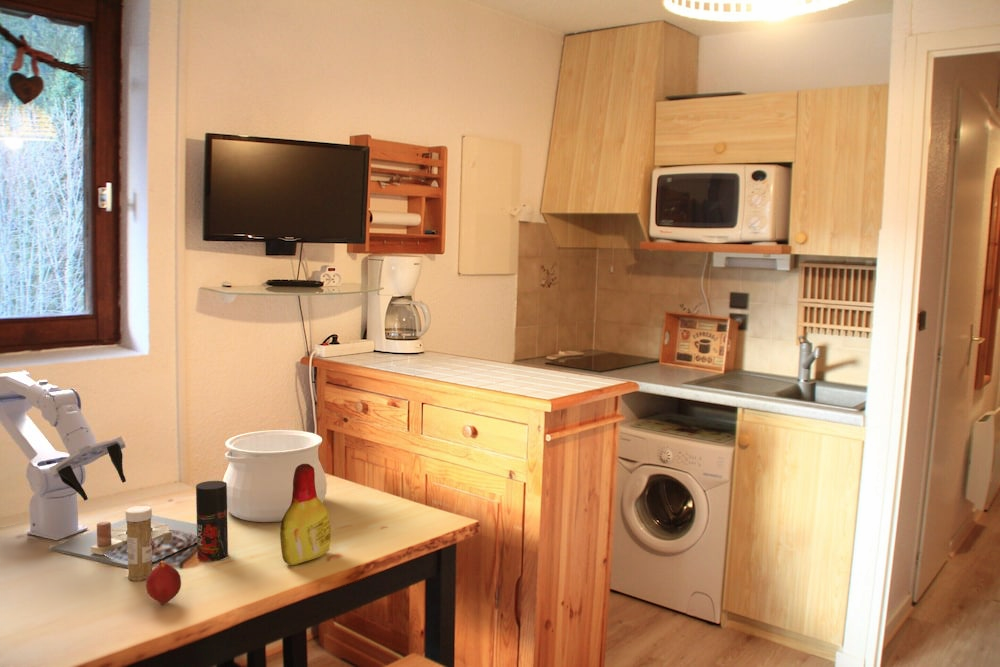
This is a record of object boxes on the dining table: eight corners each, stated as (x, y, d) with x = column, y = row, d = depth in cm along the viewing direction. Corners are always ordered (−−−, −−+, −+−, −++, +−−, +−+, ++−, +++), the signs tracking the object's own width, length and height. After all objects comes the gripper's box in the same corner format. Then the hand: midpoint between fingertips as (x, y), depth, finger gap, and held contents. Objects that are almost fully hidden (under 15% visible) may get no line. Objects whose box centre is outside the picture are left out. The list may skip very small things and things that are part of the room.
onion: (152, 597, 152) (151, 554, 151) (185, 596, 152) (184, 554, 151) (142, 611, 146) (140, 567, 145) (176, 610, 146) (174, 566, 145)
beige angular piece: (140, 524, 186) (139, 499, 186) (180, 532, 182) (179, 507, 181) (75, 548, 171) (74, 522, 170) (117, 558, 167) (116, 531, 166)
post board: (50, 549, 173) (49, 525, 172) (141, 515, 195) (141, 494, 194) (137, 570, 163) (136, 544, 163) (222, 531, 185) (222, 509, 185)
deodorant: (234, 553, 173) (232, 482, 171) (215, 563, 167) (214, 490, 166) (210, 549, 175) (208, 479, 173) (191, 559, 169) (189, 487, 168)
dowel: (161, 546, 174) (160, 533, 174) (167, 543, 176) (167, 530, 176) (167, 547, 174) (167, 534, 173) (174, 544, 175) (173, 531, 175)
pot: (283, 487, 219) (283, 424, 217) (349, 506, 205) (349, 439, 203) (198, 511, 198) (196, 442, 197) (264, 534, 184) (264, 460, 182)
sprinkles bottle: (155, 578, 160) (153, 509, 158) (129, 583, 157) (127, 513, 156) (150, 570, 164) (148, 503, 162) (125, 574, 161) (123, 507, 159)
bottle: (291, 572, 164) (290, 472, 162) (270, 564, 168) (269, 466, 166) (337, 554, 173) (337, 460, 171) (317, 547, 177) (316, 455, 175)
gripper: (37, 443, 168) (64, 497, 163) (110, 413, 175) (138, 463, 171) (44, 459, 174) (70, 512, 169) (114, 429, 181) (141, 478, 176)
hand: (104, 488), depth 170 cm, fingers open, 7 cm apart
